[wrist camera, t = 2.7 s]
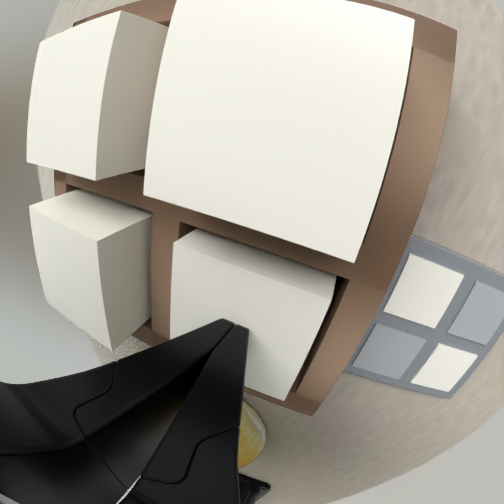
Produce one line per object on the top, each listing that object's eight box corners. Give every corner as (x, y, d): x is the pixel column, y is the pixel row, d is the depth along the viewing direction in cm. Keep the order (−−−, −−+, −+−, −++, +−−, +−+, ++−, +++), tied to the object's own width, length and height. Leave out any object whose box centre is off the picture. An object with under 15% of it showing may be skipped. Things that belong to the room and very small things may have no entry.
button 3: (160, 308, 11) (112, 351, 8) (93, 271, 12) (46, 300, 9) (164, 210, 9) (97, 241, 6) (88, 186, 10) (28, 206, 7)
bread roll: (274, 452, 16) (253, 498, 12) (167, 419, 19) (141, 453, 16) (265, 377, 13) (233, 442, 9) (130, 343, 16) (90, 381, 13)
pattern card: (448, 392, 9) (449, 400, 9) (337, 361, 11) (335, 370, 10) (523, 284, 7) (528, 290, 6) (399, 229, 8) (402, 234, 8)
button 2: (356, 216, 7) (354, 263, 4) (212, 173, 8) (143, 194, 5) (394, 64, 5) (414, 19, 3) (238, 36, 6) (177, -3, 4)
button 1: (304, 344, 11) (283, 400, 8) (209, 307, 12) (170, 351, 9) (341, 251, 9) (331, 300, 6) (223, 213, 10) (173, 242, 7)
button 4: (168, 163, 8) (95, 180, 6) (89, 148, 9) (27, 161, 7) (190, 36, 6) (121, 10, 4) (103, 48, 7) (40, 42, 5)
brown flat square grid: (323, 371, 11) (311, 416, 9) (99, 271, 14) (67, 292, 12) (433, 56, 5) (456, 30, 3) (115, 31, 8) (73, 23, 6)
